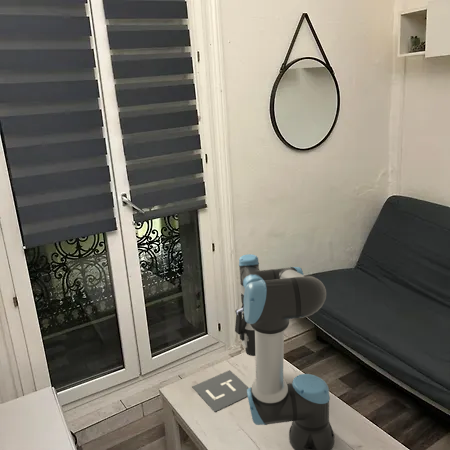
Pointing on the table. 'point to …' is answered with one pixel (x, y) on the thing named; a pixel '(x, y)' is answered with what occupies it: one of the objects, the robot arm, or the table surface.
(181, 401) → the table surface
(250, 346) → the coffee cup
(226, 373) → the mat
